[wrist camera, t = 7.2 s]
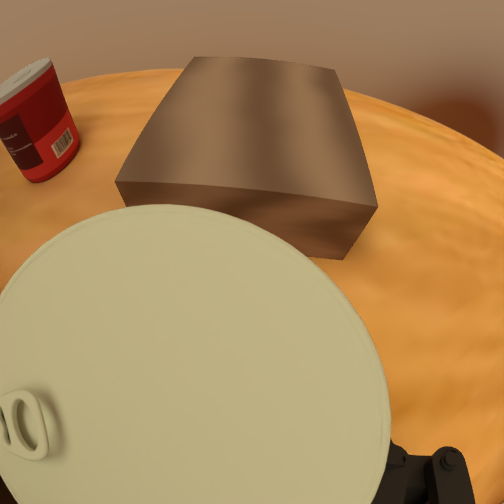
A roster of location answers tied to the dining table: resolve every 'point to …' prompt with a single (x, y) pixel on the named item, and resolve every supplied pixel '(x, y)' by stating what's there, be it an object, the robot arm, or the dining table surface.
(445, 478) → the robot arm
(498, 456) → the dining table surface
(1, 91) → the canned food
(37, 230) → the dining table surface
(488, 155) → the dining table surface
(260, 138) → the walnut riser
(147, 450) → the can
